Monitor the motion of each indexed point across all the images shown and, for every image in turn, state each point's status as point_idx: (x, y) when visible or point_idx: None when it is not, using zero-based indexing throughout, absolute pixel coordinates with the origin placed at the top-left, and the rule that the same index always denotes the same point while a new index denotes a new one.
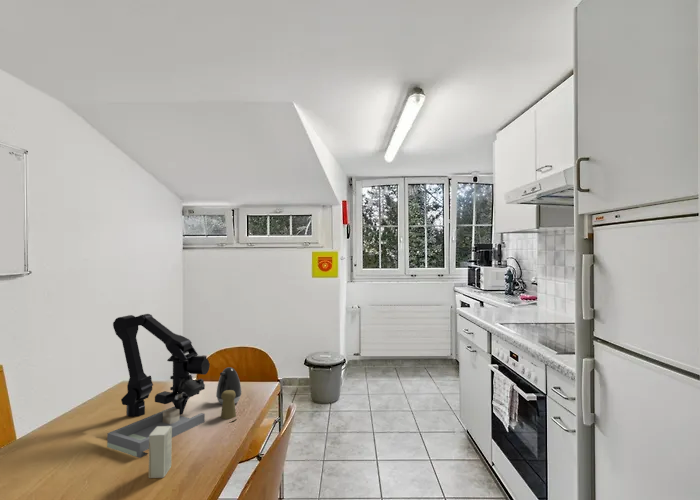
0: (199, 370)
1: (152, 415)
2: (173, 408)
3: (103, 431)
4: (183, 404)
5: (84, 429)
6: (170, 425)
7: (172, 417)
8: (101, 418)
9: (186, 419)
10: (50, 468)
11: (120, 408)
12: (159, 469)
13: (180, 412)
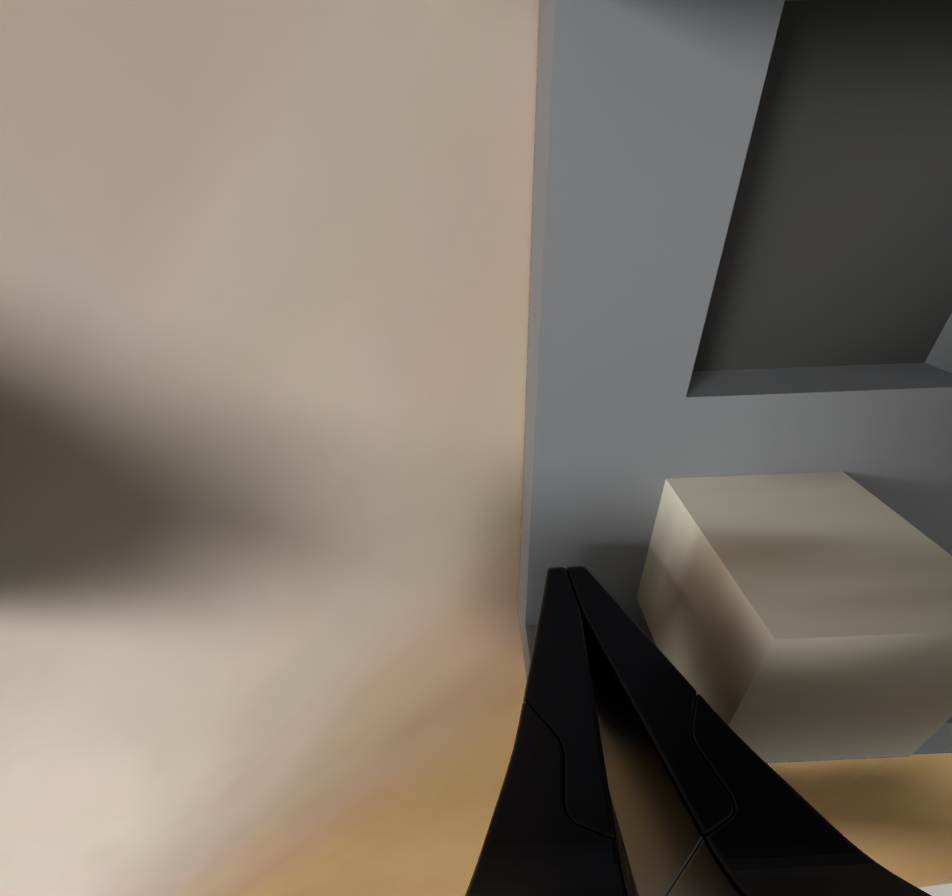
0: None
1: (933, 748)
2: (747, 732)
3: (899, 765)
4: (598, 738)
5: (868, 825)
6: (891, 435)
7: (876, 540)
8: None
9: (601, 411)
10: None
11: None
12: None
13: (611, 597)
